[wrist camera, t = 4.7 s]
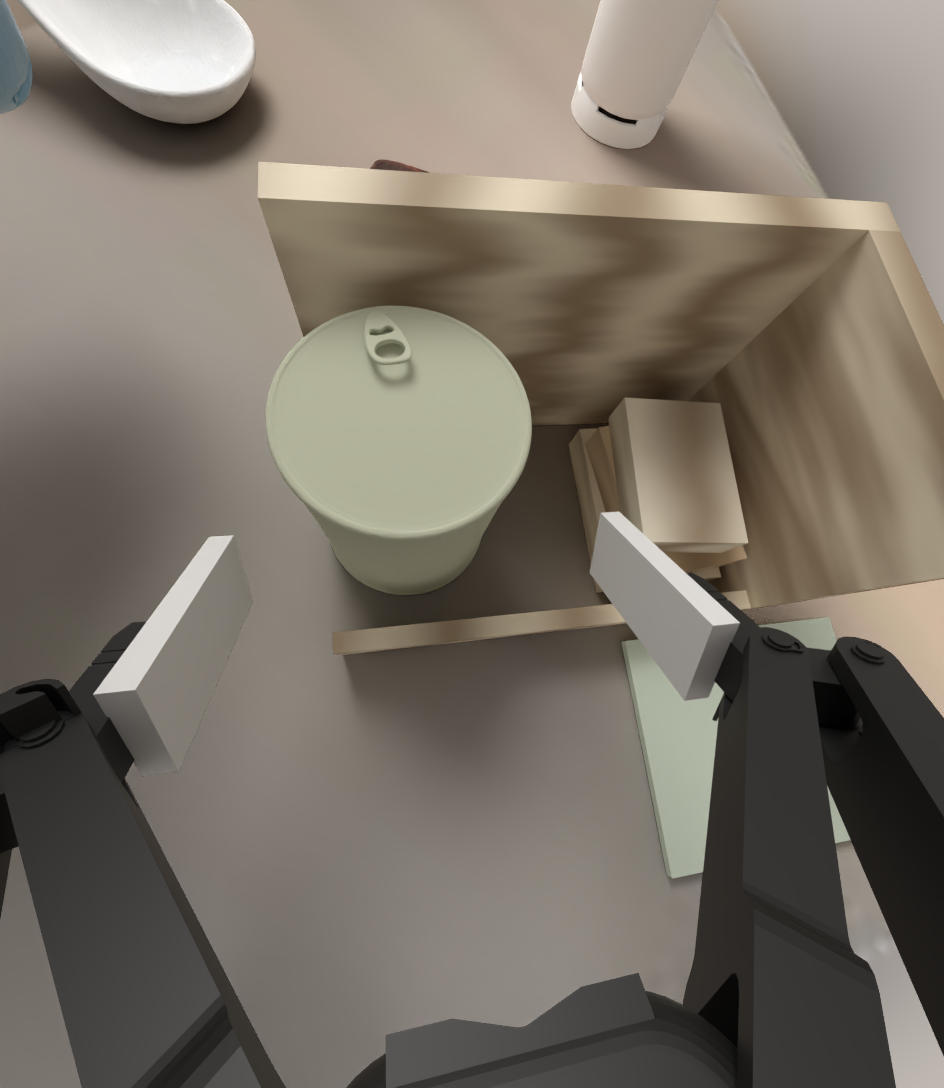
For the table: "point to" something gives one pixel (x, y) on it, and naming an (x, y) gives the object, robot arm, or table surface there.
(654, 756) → the mat
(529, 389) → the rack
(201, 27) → the spoon rest
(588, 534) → the offcut stack
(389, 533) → the can
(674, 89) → the bottle
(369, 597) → the table surface
